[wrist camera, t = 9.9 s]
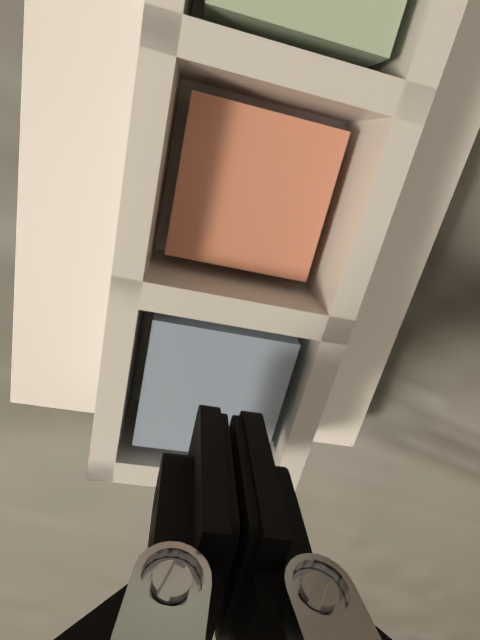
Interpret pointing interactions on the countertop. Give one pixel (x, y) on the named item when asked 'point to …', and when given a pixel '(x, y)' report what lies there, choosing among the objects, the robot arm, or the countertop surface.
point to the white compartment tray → (158, 195)
